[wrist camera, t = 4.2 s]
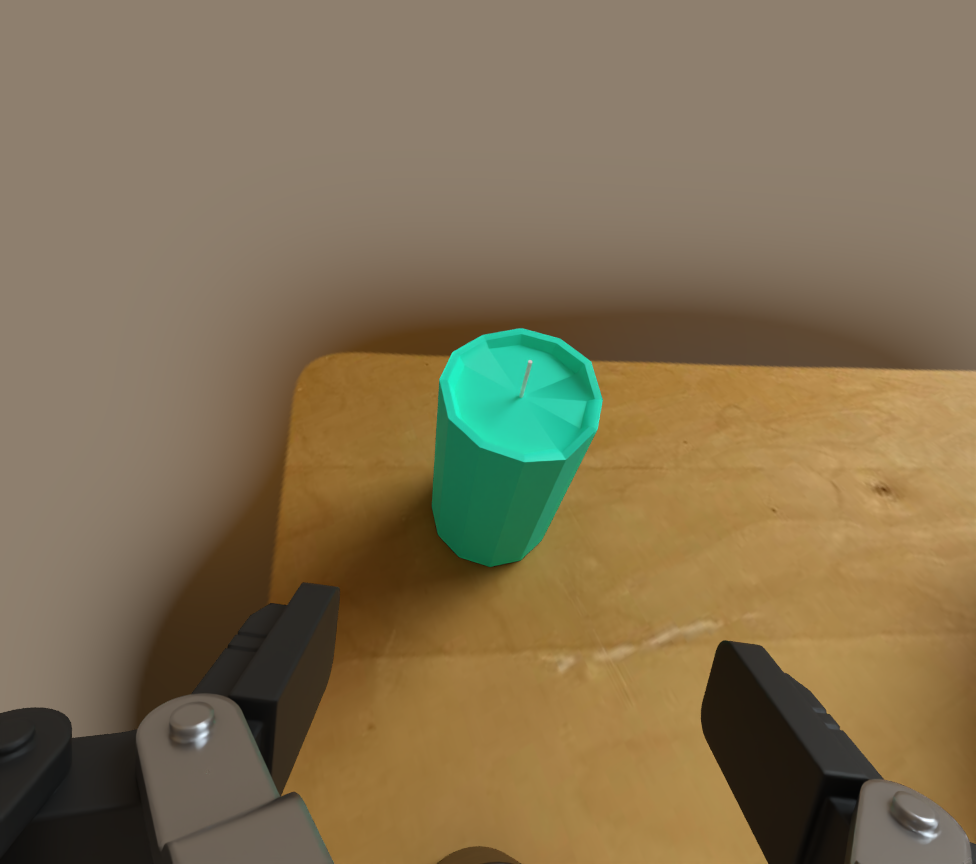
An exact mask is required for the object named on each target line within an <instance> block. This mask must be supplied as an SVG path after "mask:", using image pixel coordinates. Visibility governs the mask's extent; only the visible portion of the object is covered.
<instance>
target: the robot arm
mask: <svg viewBox="0 0 976 864" xmlns="http://www.w3.org/2000/svg"><path fill="white" fill-rule="evenodd" d="M339 600H340V589H339V587H335V586H327V585H320V584H313V583H305V582H303V583H302V584H301V585H300V587H299V588H298V590H297V591H296V593H295V594H294V596H293V597H292V599H291V600H290V602H289V603H288V605H281V604H274V603H270V604H269V605H267V606H265V607H264V608H262V609H260V610H259V611H257V612H256V613H254V614H252V615H250V617H249V618H248V619H247V621H246V622H245V623H244V625H243V626H242V627H241V628H240V630H239V631H238V635H235V637H234V638H233V639H232V641H231V642H230V643H229V645H228V648H227V649H225V650H224V651H223V652H222V654H221V655H220V656H219V658H218V659H217V660H216V662H215V663H214V664H213V666H212V667H211V668H210V670H209V671H208V672H207V674H206V675H205V677H204V678H203V679H202V680H201V682H200V683H199V684H198V686H197V687H196V688H195V690H194V691H193V692H192V694H191V695H186V696H182V697H179V698H176V699H173V700H170V701H168V702H166V703H164V704H162V705H160V706H159V707H157V708H156V709H154V710H153V711H152V712H150V713H149V714H148V715H147V716H146V717H145V718H144V720H143V721H142V722H141V723H140V725H139V727H138V729H136V730H132V731H128V732H122V733H113V734H104V735H95V736H86V737H78V738H72V727H71V722H70V720H69V718H68V717H67V716H65V714H63V713H61V712H59V711H56V710H53V709H48V708H23V709H17V710H12V711H8V712H3V713H0V864H334V862H333V860H332V858H331V856H330V854H329V852H328V850H327V848H326V846H325V844H324V842H323V840H322V838H321V836H320V834H319V832H318V829H317V827H316V825H315V823H314V821H313V819H312V817H311V815H310V813H309V811H308V809H307V807H306V805H305V803H304V801H303V799H302V798H301V797H300V795H299V794H297V793H296V792H291V793H289V794H286V795H284V796H281V795H282V792H283V790H284V787H285V785H286V783H287V780H288V778H289V775H290V773H291V771H292V768H293V766H294V763H295V761H296V759H297V756H298V754H299V751H300V749H301V747H302V744H303V742H304V739H305V737H306V734H307V732H308V730H309V727H310V725H311V722H312V720H313V718H314V715H315V713H316V710H317V708H318V706H319V703H320V701H321V698H322V696H323V694H324V691H325V689H326V686H327V683H328V680H329V676H330V672H331V668H332V663H333V657H334V648H335V639H336V629H337V619H338V610H339ZM701 724H702V729H703V733H704V736H705V739H706V741H707V743H708V745H709V747H710V749H711V751H712V753H713V755H714V757H715V759H716V761H717V763H718V765H719V767H720V769H721V770H722V772H723V774H724V776H725V778H726V780H727V782H728V784H729V786H730V788H731V790H732V792H733V794H734V796H735V798H736V800H737V802H738V804H739V806H740V808H741V810H742V812H743V814H744V816H745V818H746V820H747V822H748V824H749V826H750V828H751V830H752V832H753V834H754V836H755V838H756V840H757V842H758V844H759V846H760V848H761V850H762V852H763V854H764V856H765V858H766V860H767V862H768V864H976V844H974V843H971V842H969V839H968V837H967V835H966V833H965V832H964V830H963V829H962V827H961V826H960V825H959V824H958V823H957V821H956V820H955V819H954V818H953V817H952V816H951V815H950V814H949V813H947V812H946V811H945V810H944V809H943V808H941V807H940V806H939V805H937V804H936V803H935V802H933V801H932V800H930V799H929V798H927V797H925V796H924V795H922V794H920V793H919V792H917V791H915V790H913V789H911V788H908V787H906V786H904V785H901V784H898V783H895V782H892V781H888V780H884V779H883V778H882V776H881V775H880V774H879V773H878V772H877V770H876V769H875V768H874V767H873V766H872V764H871V763H870V762H869V761H868V760H867V759H866V757H865V756H864V755H863V754H862V753H861V751H860V750H859V749H858V748H857V747H856V745H855V744H854V743H853V742H852V741H851V739H850V738H849V737H848V736H847V735H846V733H845V732H844V731H842V730H840V726H839V725H838V724H837V723H836V721H835V720H834V719H833V718H832V717H831V715H830V714H827V713H826V709H825V708H824V707H823V706H822V705H821V703H820V702H819V701H818V700H817V699H816V697H815V696H814V695H813V694H812V693H811V691H809V690H808V689H807V688H805V687H804V686H803V685H801V684H800V683H799V682H798V681H796V680H795V679H794V678H792V677H791V676H790V675H788V674H787V673H784V672H783V671H782V670H781V669H780V667H779V666H778V665H777V664H776V662H775V661H774V660H773V659H772V657H771V656H770V655H769V654H768V652H767V651H766V650H765V649H764V648H763V647H762V646H760V645H755V644H748V643H741V642H733V641H726V640H725V641H722V642H721V643H720V644H719V645H718V647H717V650H716V653H715V657H714V661H713V664H712V668H711V672H710V676H709V679H708V683H707V687H706V691H705V695H704V698H703V702H702V708H701Z"/></svg>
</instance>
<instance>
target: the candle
mask: <svg viewBox="0 0 976 864" xmlns="http://www.w3.org/2000/svg"><path fill="white" fill-rule="evenodd" d="M602 401H603V399H602V396H601V392H600V389H599V386H598V383H597V379H596V376H595V373H594V370H593V366H592V363H591V361H590V360H588V359H587V358H585V357H584V356H583V355H582V354H580V353H579V352H578V351H576V350H575V349H573V348H572V347H571V346H569V345H568V344H567V343H565V342H564V341H562V340H561V339H560V338H556V337H552V336H548V335H545V334H541V333H537V332H534V331H530V330H526V329H522V328H520V329H514V330H508V331H503V332H497V333H492V334H486V335H482V336H480V337H478V338H476V339H475V340H473V341H471V342H469V343H468V344H466V345H464V346H462V347H461V348H459V349H457V350H455V351H454V352H452V354H451V356H450V359H449V361H448V363H447V365H446V367H445V369H444V371H443V373H442V375H441V377H440V379H439V395H438V412H437V428H436V444H435V461H434V477H433V493H432V510H433V515H434V519H435V524H436V529H437V533H438V535H439V537H440V538H441V539H442V540H443V541H444V542H445V543H446V544H447V545H448V546H449V547H450V548H451V549H452V550H453V551H454V552H455V554H456V555H457V556H458V557H460V558H463V559H466V560H469V561H472V562H476V563H479V564H482V565H485V566H488V567H492V566H497V565H502V564H506V563H511V562H516V561H520V560H522V559H523V558H524V557H525V556H526V555H527V554H528V553H529V552H530V551H531V550H532V549H533V548H534V547H535V546H536V545H538V544H539V543H540V542H541V541H542V539H543V537H544V535H545V533H546V531H547V529H548V527H549V525H550V523H551V521H552V519H553V517H554V515H555V513H556V511H557V509H558V507H559V505H560V503H561V501H562V499H563V497H564V495H565V493H566V491H567V489H568V487H569V485H570V483H571V481H572V479H573V477H574V475H575V473H576V471H577V469H578V467H579V465H580V463H581V461H582V459H583V457H584V455H585V453H586V451H587V449H588V447H589V445H590V444H591V442H592V440H593V438H594V436H595V434H596V432H597V429H598V424H599V418H600V412H601V407H602Z"/></svg>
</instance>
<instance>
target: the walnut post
mask: <svg viewBox="0 0 976 864" xmlns="http://www.w3.org/2000/svg"><path fill="white" fill-rule="evenodd" d="M438 864H521V863H519V862H518V861H516V860H515V859H513V858H512V857H510V856H508V855H507V854H505V853H503V852H501V851H499V850H496V849H493V848H489V847H480V846H478V847H468V848H464V849H461V850H458V851H456V852H453V853H452V854H450V855H448V856H447V857H445V858H444V859H443V860H441V861H440V862H439V863H438Z"/></svg>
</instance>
